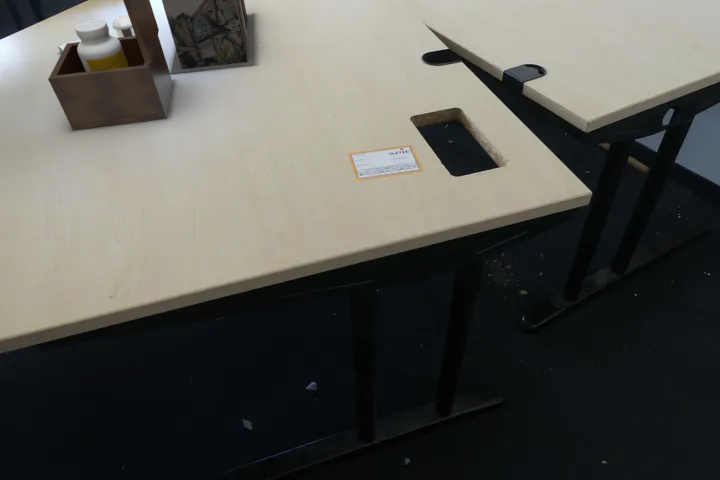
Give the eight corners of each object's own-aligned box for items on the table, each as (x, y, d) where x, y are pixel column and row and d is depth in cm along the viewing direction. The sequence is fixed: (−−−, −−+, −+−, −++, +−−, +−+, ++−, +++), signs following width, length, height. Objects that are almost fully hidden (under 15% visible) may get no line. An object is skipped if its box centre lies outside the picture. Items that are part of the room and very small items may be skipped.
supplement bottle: (147, 98, 91) (121, 23, 82) (112, 114, 88) (80, 37, 79) (127, 86, 95) (99, 13, 86) (92, 101, 91) (60, 26, 82)
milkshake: (146, 72, 100) (128, 18, 93) (122, 68, 102) (103, 16, 95) (160, 61, 103) (143, 9, 96) (137, 58, 105) (119, 6, 98)
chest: (72, 130, 87) (47, 79, 80) (88, 91, 96) (66, 43, 90) (166, 118, 88) (149, 67, 82) (172, 81, 97) (157, 33, 91)
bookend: (253, 14, 119) (239, -67, 107) (254, 64, 101) (237, -27, 89) (181, 21, 117) (159, -60, 106) (170, 73, 99) (141, -18, 88)
